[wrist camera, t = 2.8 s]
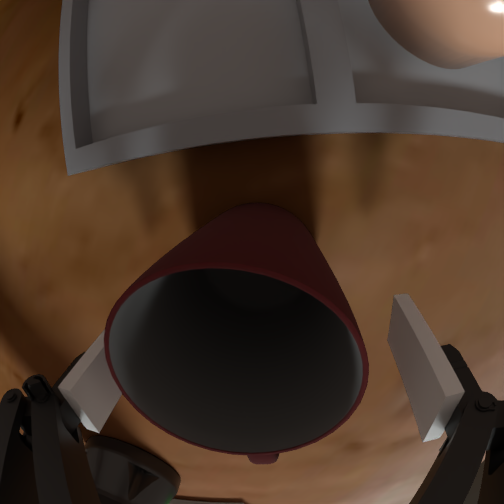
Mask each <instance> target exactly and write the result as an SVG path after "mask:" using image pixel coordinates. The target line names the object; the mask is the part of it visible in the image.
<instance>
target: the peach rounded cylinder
mask: <svg viewBox="0 0 504 504" xmlns="http://www.w3.org/2000/svg"><path fill="white" fill-rule="evenodd" d="M368 1H369V4H370V7H371V9H372V11H373V13H374V15H375V16H376V18H377V19H378V21H379V22H380V24H381V25H382V26H383V28H384V29H385V30H386V31H387V33H388V34H389V35H390V36H391V37H392V38H393V39H394V40H395V41H396V42H397V43H398V44H400V45H401V46H402V47H403V48H404V49H405V50H407V51H408V52H410V53H411V54H413V55H414V56H416V57H417V58H419V59H421V60H423V61H425V62H427V63H429V64H431V65H434V66H437V67H441V68H445V69H461V68H466V67H469V66H472V65H475V64H479V63H482V62H485V61H489V60H492V59H496V58H500V57H503V56H504V0H368Z"/></svg>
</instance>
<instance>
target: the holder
mask: <svg viewBox="0 0 504 504" xmlns="http://www.w3.org/2000/svg"><path fill="white" fill-rule="evenodd" d="M59 98H60V114H61V126H62V136H63V144H64V152H65V159H66V166H67V173H68V176H69V175H73V174H77V173H81V172H85V171H90V170H93V169H97V168H101V167H105V166H109V165H113V164H117V163H121V162H125V161H129V160H134V159H138V158H143V157H148V156H152V155H157V154H162V153H167V152H173V151H178V150H184V149H189V148H195V147H202V146H208V145H215V144H222V143H229V142H237V141H245V140H254V139H263V138H273V137H285V136H298V135H314V134H337V133H403V134H425V135H440V136H452V137H463V138H472V139H480V140H488V141H495V142H502V143H504V56H503V57H500V58H496V59H492V60H489V61H485V62H482V63H479V64H475V65H472V66H469V67H466V68H461V69H445V68H441V67H437V66H434V65H431V64H429V63H427V62H425V61H423V60H421V59H419V58H417V57H416V56H414V55H413V54H411V53H410V52H408V51H407V50H405V49H404V48H403V47H402V46H401V45H400V44H398V43H397V42H396V41H395V40H394V39H393V38H392V37H391V36H390V35H389V34H388V33H387V31H386V30H385V29H384V28H383V26H382V25H381V24H380V22H379V21H378V19H377V18H376V16H375V15H374V13H373V11H372V9H371V7H370V4H369V1H368V0H63V2H62V11H61V21H60V36H59Z"/></svg>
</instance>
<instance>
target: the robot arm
mask: <svg viewBox="0 0 504 504" xmlns="http://www.w3.org/2000/svg"><path fill="white" fill-rule="evenodd" d="M104 333H105V330H104V331H103V332H102V333H101V334H100V336H99V337H98V338H97V339H96V340H95V342H94V343H93V344H92V345H91V346H90V348H89V349H88V350H87V351H86V352H83V353H82V354H81V355H79V356H78V357H76V359H75V360H74V361H73V362H72V363H71V366H69V367H68V368H67V371H65V372H64V373H63V374H62V376H61V377H60V378H59V379H58V381H57V382H56V383H55V384H54V386H53V387H52V388H51V386H50V385H49V383H48V382H47V380H46V378H45V377H44V376H43V375H40V374H37V375H33V376H31V377H29V378H28V379H27V380H26V381H25V382H24V383H23V386H22V388H23V390H24V391H25V393H26V394H27V396H28V397H25V396H24V395H23V394H22V392H21V391H20V390H19V389H11V390H9V391H7V392H6V393H5V394H4V396H3V398H2V400H1V403H0V504H169V503H170V501H171V500H172V499H173V498H174V496H175V495H176V494H177V492H178V489H179V485H180V482H181V480H180V477H179V475H178V474H177V473H176V472H175V471H174V470H173V469H172V468H171V467H170V466H168V465H167V464H166V463H164V462H163V461H161V460H159V459H158V458H156V457H154V456H153V455H151V454H149V453H147V452H145V451H143V450H141V449H139V448H137V447H134V446H132V445H130V444H127V443H124V442H122V441H119V440H116V439H112V438H109V437H104V436H92V437H90V438H89V439H88V440H87V442H86V444H85V446H84V443H83V438H82V434H81V430H80V428H79V427H78V425H79V423H80V421H81V422H82V423H83V425H84V426H85V427H86V429H88V430H91V431H94V432H97V433H100V431H101V429H102V427H103V426H104V424H105V422H106V420H107V419H108V417H109V415H110V414H111V412H112V410H113V408H114V407H115V405H116V403H117V401H118V400H119V398H120V396H121V395H122V393H121V391H120V389H119V388H118V386H117V384H116V383H115V381H114V379H113V378H112V375H111V373H110V370H109V367H108V364H107V361H106V358H105V350H104ZM387 341H388V343H389V346H390V348H391V351H392V353H393V356H394V359H395V361H396V364H397V367H398V369H399V372H400V375H401V377H402V380H403V383H404V386H405V389H406V392H407V395H408V397H409V400H410V403H411V406H412V409H413V413H414V416H415V419H416V422H417V425H418V428H419V432H420V435H421V439H422V442H426V441H430V440H434V439H437V438H440V437H441V435H442V433H443V432H444V430H445V431H446V434H447V436H448V437H447V439H446V440H445V442H444V443H443V445H442V446H441V448H440V449H439V451H440V452H439V454H438V456H437V458H436V460H435V462H434V464H433V465H432V467H431V469H430V471H429V473H428V474H427V476H426V478H425V479H424V481H423V483H422V484H421V486H420V488H419V489H418V491H417V492H416V494H415V496H414V497H413V499H412V500H411V502H410V503H409V504H463V502H464V500H465V498H466V496H467V494H468V492H469V490H470V488H471V486H472V483H473V481H474V479H475V476H476V474H477V472H478V469H479V467H480V464H481V462H482V459H483V456H484V454H485V451H486V456H485V464H484V471H483V478H482V484H481V489H480V494H479V499H478V504H504V401H498V400H497V399H496V398H495V397H494V396H493V395H492V394H490V393H488V392H482V390H481V389H480V387H479V385H478V383H477V381H476V380H475V378H474V376H473V374H472V373H471V371H470V369H469V367H467V364H466V362H465V361H464V360H463V357H462V356H461V354H460V352H459V351H458V350H457V349H456V348H454V347H453V346H452V345H450V344H448V345H443V346H440V345H439V343H438V341H437V340H436V338H435V336H434V334H433V333H432V331H431V329H430V328H429V326H428V324H427V323H426V321H425V320H424V318H423V316H422V315H421V313H420V312H419V310H418V308H417V307H416V305H415V304H414V302H413V301H412V299H411V297H410V296H409V294H399V295H394V298H393V306H392V314H391V321H390V327H389V333H388V339H387ZM20 427H21V428H22V430H23V431H24V433H23V435H21V434H20V432H19V430H20Z"/></svg>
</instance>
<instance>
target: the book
mask: <svg viewBox="0 0 504 504" xmlns="http://www.w3.org/2000/svg"><path fill="white" fill-rule="evenodd" d="M169 504H244V503H222V502H201V501H189V500H179V499H172V500H171V501H170V503H169Z"/></svg>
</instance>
